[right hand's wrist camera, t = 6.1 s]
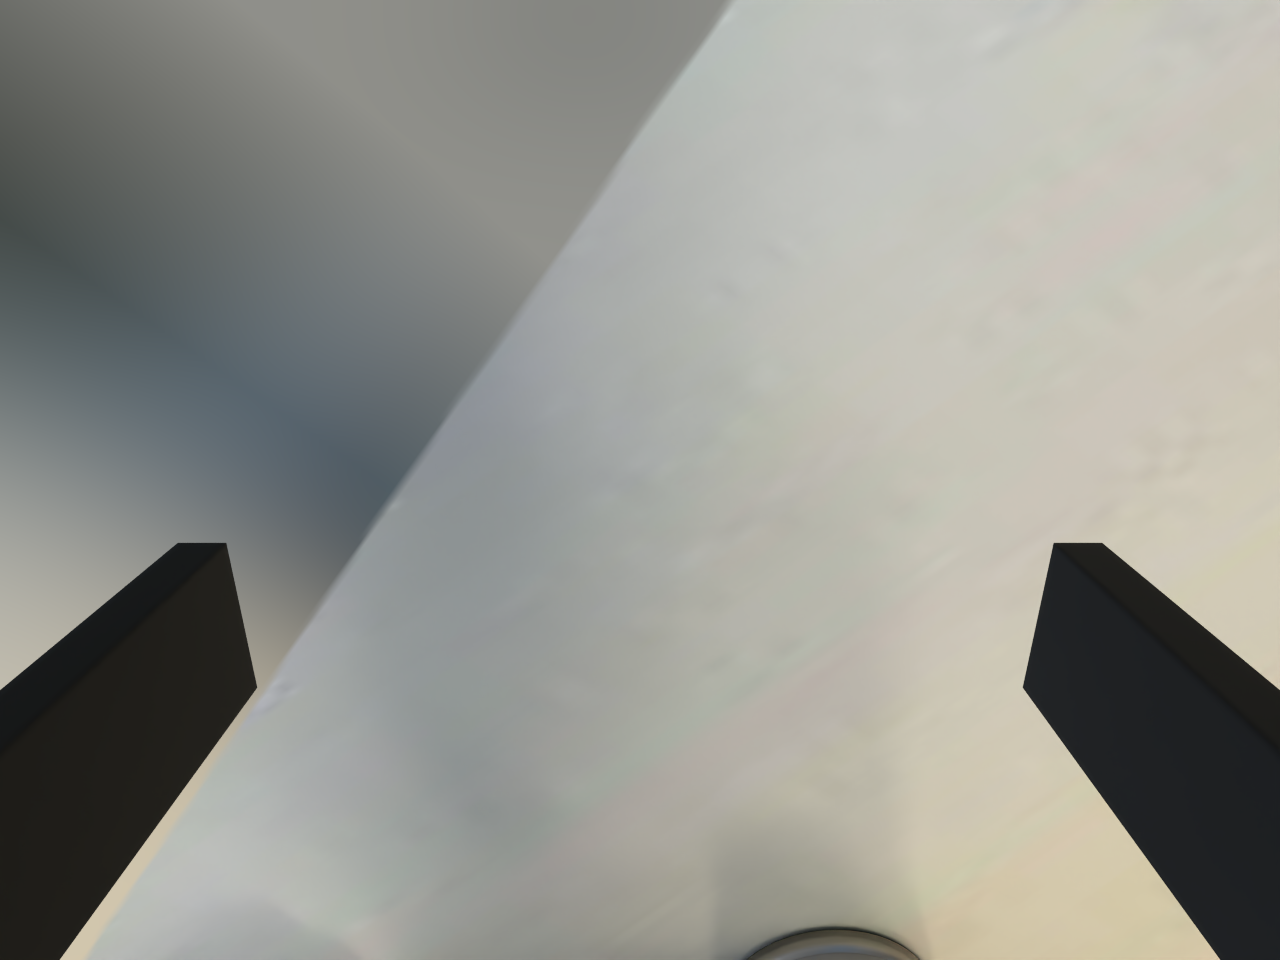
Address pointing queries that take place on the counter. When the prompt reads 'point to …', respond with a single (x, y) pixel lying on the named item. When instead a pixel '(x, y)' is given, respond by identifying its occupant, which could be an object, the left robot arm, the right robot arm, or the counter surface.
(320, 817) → the counter surface
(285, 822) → the counter surface
